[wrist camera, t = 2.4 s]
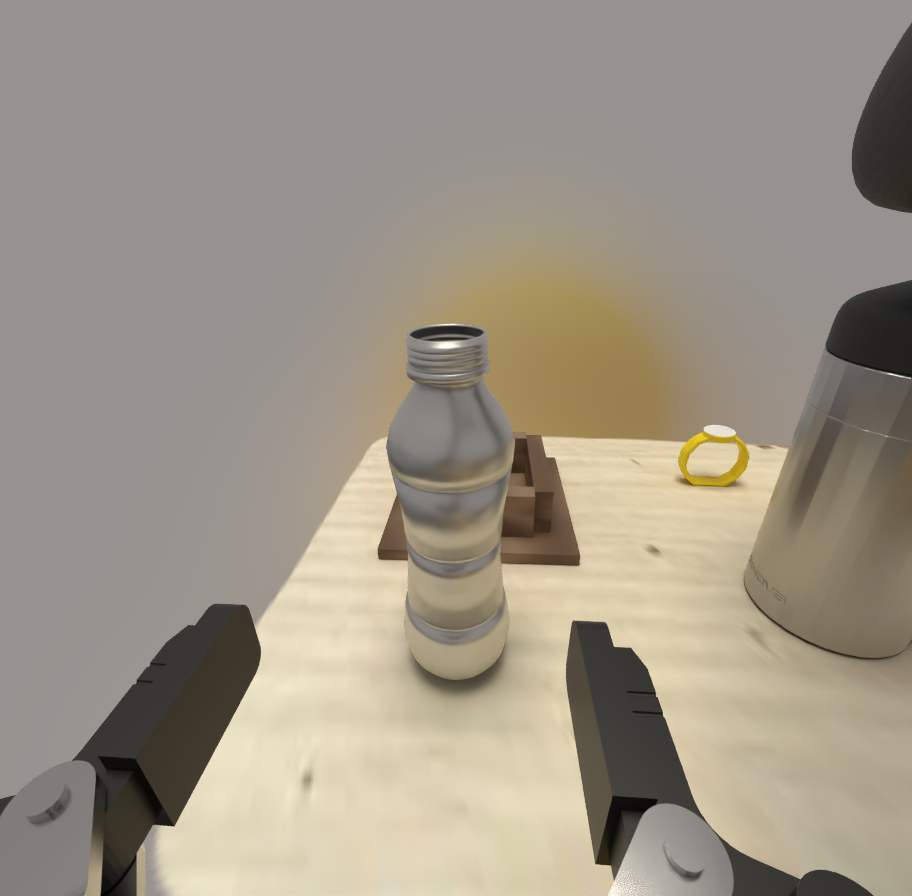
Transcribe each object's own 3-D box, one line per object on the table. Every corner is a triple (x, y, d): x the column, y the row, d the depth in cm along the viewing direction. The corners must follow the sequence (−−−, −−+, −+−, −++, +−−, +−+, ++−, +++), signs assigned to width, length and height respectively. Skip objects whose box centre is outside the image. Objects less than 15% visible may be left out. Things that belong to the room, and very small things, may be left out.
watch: (681, 491, 44) (689, 437, 42) (672, 477, 47) (679, 425, 44) (746, 490, 44) (758, 435, 41) (733, 475, 46) (744, 423, 43)
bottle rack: (554, 465, 49) (557, 424, 47) (578, 565, 35) (585, 512, 33) (411, 463, 50) (407, 423, 48) (378, 558, 36) (372, 507, 34)
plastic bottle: (399, 695, 26) (355, 354, 16) (414, 605, 32) (387, 318, 23) (511, 698, 25) (529, 351, 16) (504, 606, 31) (514, 316, 22)
